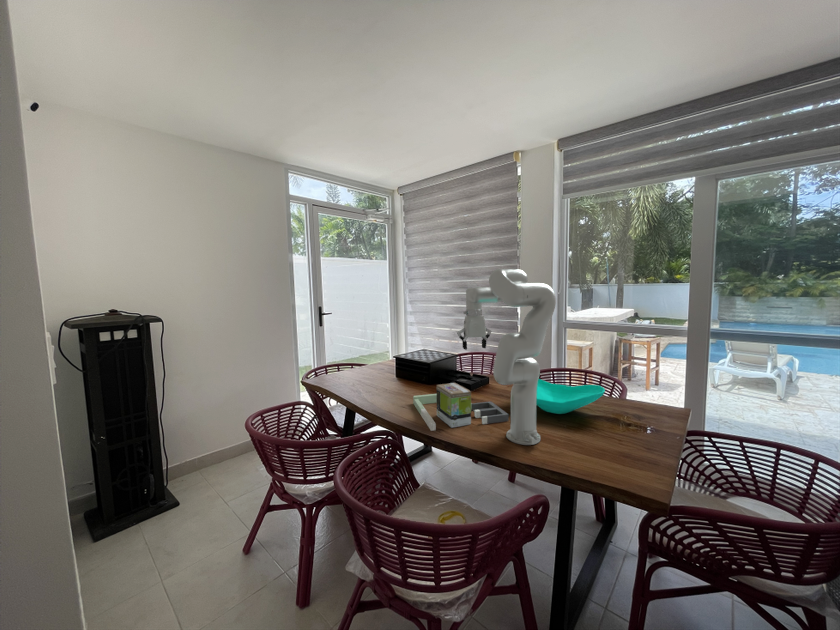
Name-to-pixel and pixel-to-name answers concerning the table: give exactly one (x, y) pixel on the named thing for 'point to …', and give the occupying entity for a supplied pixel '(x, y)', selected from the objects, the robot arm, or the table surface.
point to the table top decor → (565, 396)
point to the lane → (433, 399)
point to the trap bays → (491, 412)
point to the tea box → (454, 404)
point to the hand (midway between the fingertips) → (474, 348)
